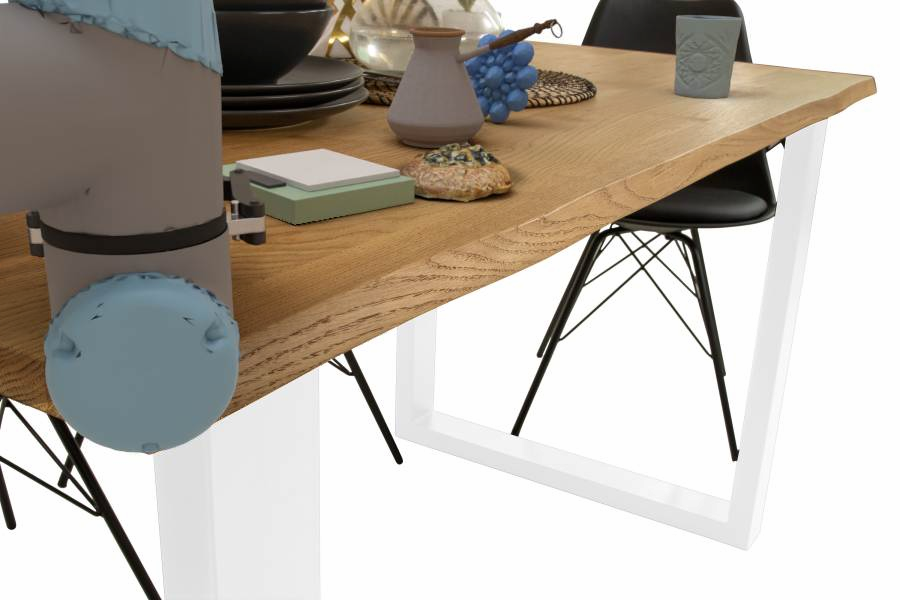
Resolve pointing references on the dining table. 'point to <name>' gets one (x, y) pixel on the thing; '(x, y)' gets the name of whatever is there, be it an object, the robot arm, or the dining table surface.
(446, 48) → the coffee pot
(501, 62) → the grapes
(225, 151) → the dining table surface
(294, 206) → the scale
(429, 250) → the dining table surface
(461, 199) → the bread roll
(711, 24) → the grey embossed vase
